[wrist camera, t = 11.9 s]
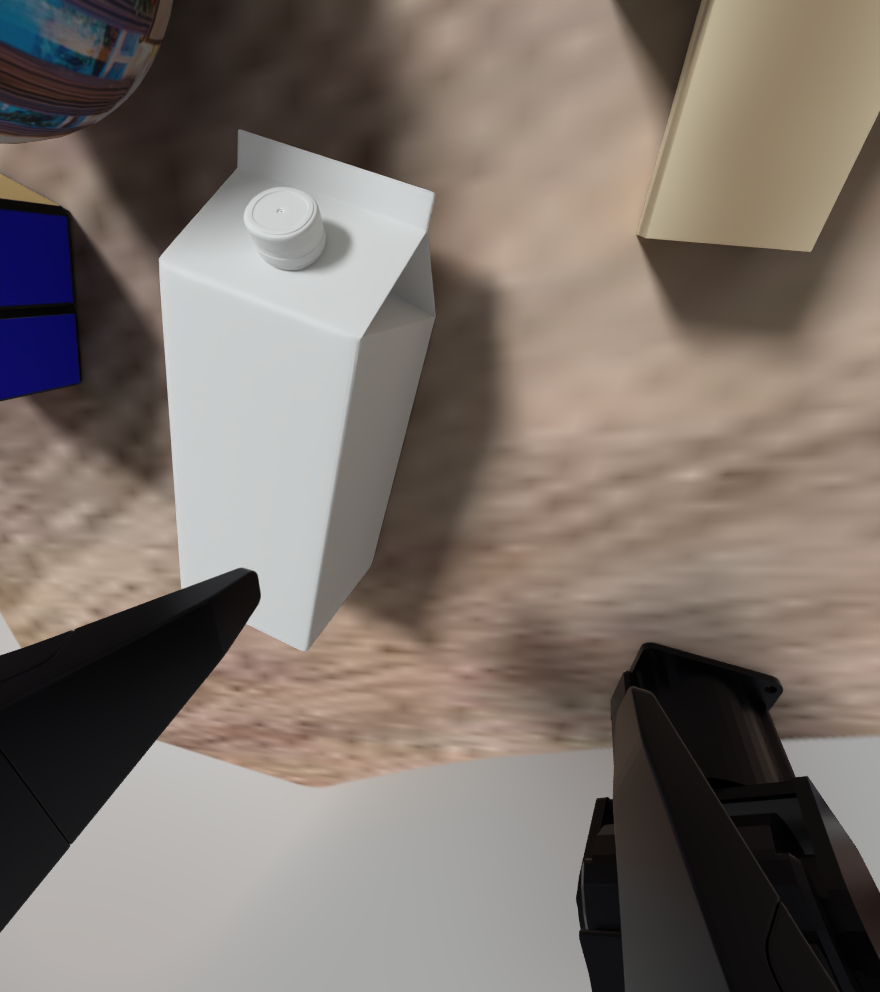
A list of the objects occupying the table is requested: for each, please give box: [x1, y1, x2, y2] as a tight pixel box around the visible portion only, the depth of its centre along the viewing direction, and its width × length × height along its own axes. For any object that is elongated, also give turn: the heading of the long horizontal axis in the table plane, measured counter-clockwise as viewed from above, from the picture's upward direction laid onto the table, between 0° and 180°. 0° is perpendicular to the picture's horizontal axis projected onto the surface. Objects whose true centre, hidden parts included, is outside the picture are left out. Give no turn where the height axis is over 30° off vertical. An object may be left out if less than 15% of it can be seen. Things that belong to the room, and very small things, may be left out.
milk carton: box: [159, 129, 436, 652], centre depth 18 cm, size 7×7×19 cm
